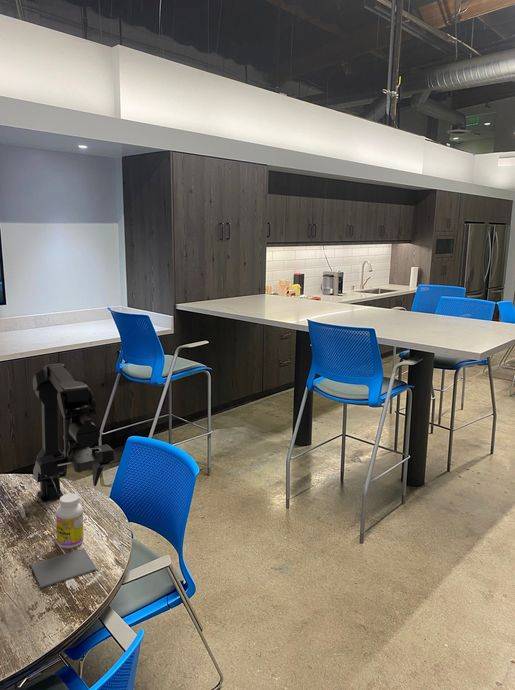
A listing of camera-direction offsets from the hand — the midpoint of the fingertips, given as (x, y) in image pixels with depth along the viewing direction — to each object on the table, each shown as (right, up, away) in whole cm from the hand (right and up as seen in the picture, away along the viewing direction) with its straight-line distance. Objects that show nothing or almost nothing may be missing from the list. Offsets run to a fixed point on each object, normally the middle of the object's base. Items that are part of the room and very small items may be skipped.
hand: (77, 489), depth 137 cm
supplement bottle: (-3, -15, +2) cm, 15 cm away
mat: (-1, -17, -8) cm, 19 cm away
